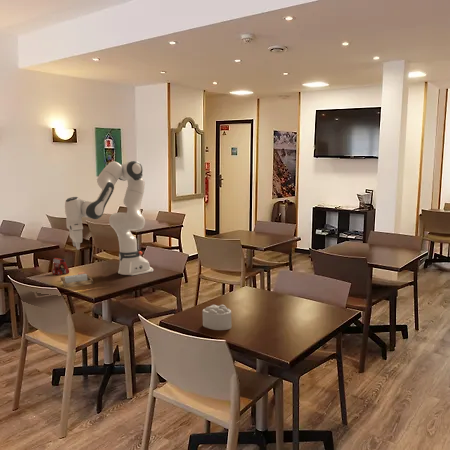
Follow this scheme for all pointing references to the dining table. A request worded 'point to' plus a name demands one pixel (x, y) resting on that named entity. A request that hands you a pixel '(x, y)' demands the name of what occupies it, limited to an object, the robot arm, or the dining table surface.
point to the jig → (89, 281)
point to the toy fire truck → (60, 267)
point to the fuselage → (75, 278)
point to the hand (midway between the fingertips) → (76, 247)
